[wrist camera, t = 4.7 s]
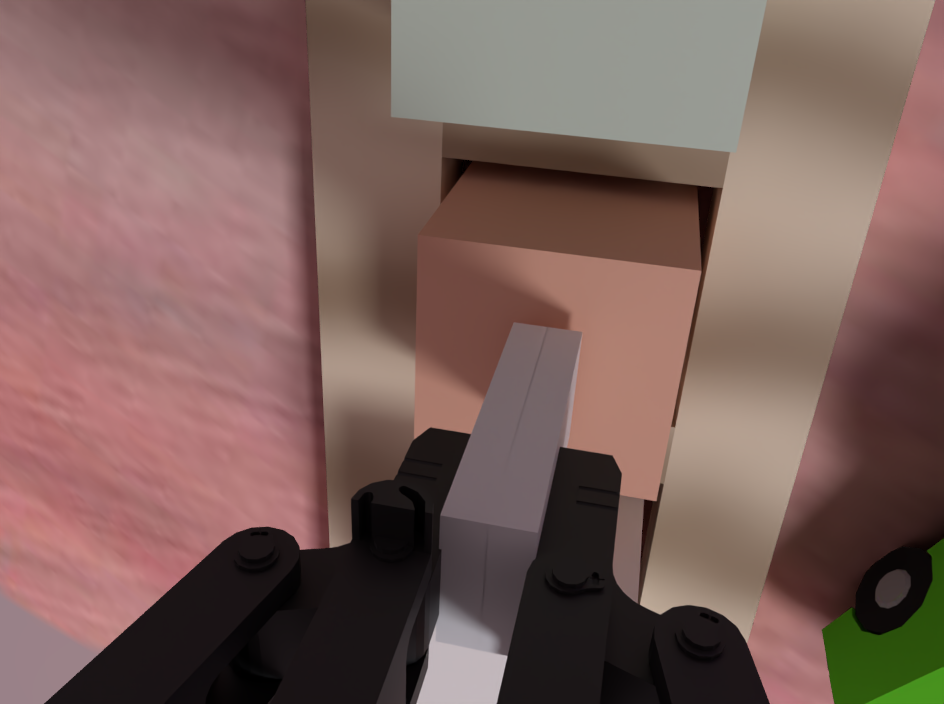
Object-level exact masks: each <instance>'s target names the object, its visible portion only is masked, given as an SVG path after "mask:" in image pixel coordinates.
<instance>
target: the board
mask: <svg viewBox="0 0 944 704" xmlns="http://www.w3.org/2000/svg"><path fill="white" fill-rule="evenodd" d="M934 2H935V0H767V3H766V8H765V13H764V18H763V23H762V27H761V32H760V37H759V42H758V47H757V52H756V57H755V62H754V67H753V72H752V77H751V82H750V87H749V92H748V97H747V101H746V106H745V111H744V116H743V121H742V126H741V131H740V136H739V141H738V146H737V151H736V153H734V152H724V151H715V150H705V149H696V148H686V147H676V146H667V145H657V144H648V143H638V142H628V141H619V140H609V139H599V138H590V137H580V136H571V135H561V134H551V133H542V132H532V131H523V130H513V129H503V128H494V127H484V126H475V125H465V124H455V123H446V122H436V121H427V120H417V119H407V118H398V117H391V0H305V3H306V25H307V48H308V70H309V93H310V115H311V138H312V160H313V183H314V205H315V228H316V251H317V273H318V296H319V318H320V341H321V363H322V386H323V408H324V431H325V453H326V476H327V499H328V521H329V544H330V548H332V547H338V546H341V545H344V544H348V543H350V542H351V540H352V523H351V498H352V497H353V496H354V495H355V494H356V492H357V491H358V490H359V489H361V488H363V487H365V486H367V485H369V484H371V483H374V482H379V481H384V480H394V478H395V476H396V475H397V474H398V470H399V468H400V466H401V464H402V462H403V461H404V457H405V455H406V453H407V451H408V449H409V447H410V445H411V443H412V441H413V440H414V413H415V357H416V302H417V246H418V234H419V233H420V231H421V230H422V229H423V227H424V226H425V225H426V223H427V222H428V221H429V219H430V218H431V216H432V215H433V214H434V212H435V211H436V210H437V208H438V207H439V206H440V204H441V203H442V202H443V200H444V199H445V198H446V196H447V195H448V194H449V192H450V191H451V190H452V188H453V187H454V186H455V184H456V183H457V182H458V180H459V179H460V178H461V172H462V159H464V160H473V161H482V162H491V163H500V164H509V165H518V166H527V167H536V168H545V169H554V170H563V171H573V172H582V173H591V174H600V175H609V176H618V177H627V178H636V179H645V180H654V181H663V182H672V183H681V184H690V185H699V186H708V187H714V188H713V193H712V198H711V203H710V209H709V214H708V219H707V224H706V229H705V235H704V240H703V245H702V250H701V270H702V271H701V276H700V281H699V286H698V291H697V297H696V302H695V307H694V312H693V317H692V322H691V327H690V332H689V337H688V342H687V348H686V353H685V358H684V363H683V368H682V373H681V378H680V383H679V388H678V393H677V399H676V404H675V409H674V414H673V419H672V424H671V429H670V434H669V439H668V445H667V450H666V455H665V460H664V465H663V470H662V475H661V480H660V485H659V490H658V496H657V501H653V503H652V509H651V514H650V519H649V524H648V529H647V534H646V540H645V545H644V550H643V555H642V560H641V565H640V574H639V591H638V604H640V605H642V606H643V607H645V608H647V609H649V610H651V611H654V612H656V613H658V614H660V615H661V614H662V613H664V612H665V611H667V610H669V609H671V608H672V607H677V606H684V605H693V606H699V607H706V608H708V609H711V610H713V611H715V612H717V613H720V614H722V615H724V616H725V617H726V618H727V619H728V620H730V621H731V622H732V623H733V624H735V625H736V626H737V627H738V629H739V631H740V632H741V634H742V635H743V637H744V639H745V640H746V643H747V642H748V638H749V635H750V631H751V628H752V625H753V621H754V618H755V614H756V611H757V608H758V604H759V601H760V597H761V594H762V590H763V587H764V584H765V580H766V577H767V573H768V570H769V566H770V563H771V560H772V556H773V553H774V549H775V546H776V543H777V539H778V536H779V532H780V529H781V525H782V522H783V519H784V515H785V512H786V508H787V505H788V502H789V498H790V495H791V491H792V488H793V484H794V481H795V478H796V474H797V471H798V467H799V464H800V461H801V457H802V454H803V450H804V447H805V443H806V440H807V437H808V433H809V430H810V426H811V423H812V420H813V416H814V413H815V409H816V406H817V402H818V399H819V396H820V392H821V389H822V385H823V382H824V378H825V375H826V372H827V368H828V365H829V361H830V358H831V355H832V351H833V348H834V344H835V341H836V337H837V334H838V331H839V327H840V324H841V320H842V317H843V314H844V310H845V307H846V303H847V300H848V296H849V293H850V290H851V286H852V283H853V279H854V276H855V273H856V269H857V266H858V262H859V259H860V255H861V252H862V249H863V245H864V242H865V238H866V235H867V232H868V228H869V225H870V221H871V218H872V214H873V211H874V208H875V204H876V201H877V197H878V194H879V190H880V187H881V184H882V180H883V177H884V173H885V170H886V167H887V163H888V160H889V156H890V153H891V149H892V146H893V143H894V139H895V136H896V132H897V129H898V126H899V122H900V119H901V115H902V112H903V108H904V105H905V102H906V98H907V95H908V91H909V88H910V85H911V81H912V78H913V74H914V71H915V67H916V64H917V61H918V57H919V54H920V50H921V47H922V44H923V40H924V37H925V33H926V30H927V26H928V23H929V20H930V16H931V13H932V9H933V6H934Z"/></svg>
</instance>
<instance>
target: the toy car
mask: <svg viewBox="0 0 944 704" xmlns="http://www.w3.org/2000/svg"><path fill="white" fill-rule="evenodd" d="M927 552H928V553H929V554H930V555H929V554H928V553H927ZM927 552H925V551H924V550H922V549H921V548H911V547H901V548H899V549H896V550H894V551H892V552H890V553H889V554H887V555H886V556H884V557H883V558H882V559H880V560H879V561H877V562H876V563H875V564H874V565H873V566H872V567H871V568H870V569H869V570H868V571H867V572H866V574H865V576H864V578H863V580H862V582H861V584H860V586H859V588H858V591H857V593H856V607H855V609H854V608H850V609H849V610H848V611H846V612H845V613H844V614H842V615H841V616H840V617H838V618H837V619H836V620H834V621H833V622H832V623H830V624H829V625H828V626H826V627H825V628H824V629H822V633H823V639H824V645H825V651H826V658H827V665H828V670H829V674H830V675H829V677H830V683H831V688H832V693H833V699H834V704H944V538H943V539H942V540H941V541H939V542H938V543H937V544H935V545H934V546H933V547H931V548H930V549H929V550H927Z"/></svg>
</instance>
